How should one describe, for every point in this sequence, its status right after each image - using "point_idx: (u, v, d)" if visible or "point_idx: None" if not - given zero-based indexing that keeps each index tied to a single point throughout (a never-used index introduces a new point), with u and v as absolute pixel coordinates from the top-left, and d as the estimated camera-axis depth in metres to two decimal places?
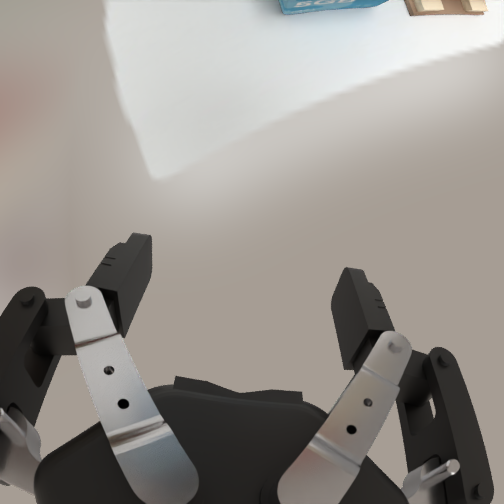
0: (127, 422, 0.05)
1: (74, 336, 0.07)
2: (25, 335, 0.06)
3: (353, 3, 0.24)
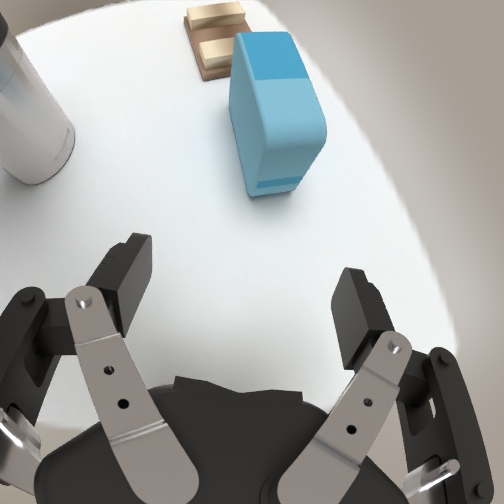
0: (127, 422, 0.05)
1: (74, 336, 0.07)
2: (25, 335, 0.06)
3: None
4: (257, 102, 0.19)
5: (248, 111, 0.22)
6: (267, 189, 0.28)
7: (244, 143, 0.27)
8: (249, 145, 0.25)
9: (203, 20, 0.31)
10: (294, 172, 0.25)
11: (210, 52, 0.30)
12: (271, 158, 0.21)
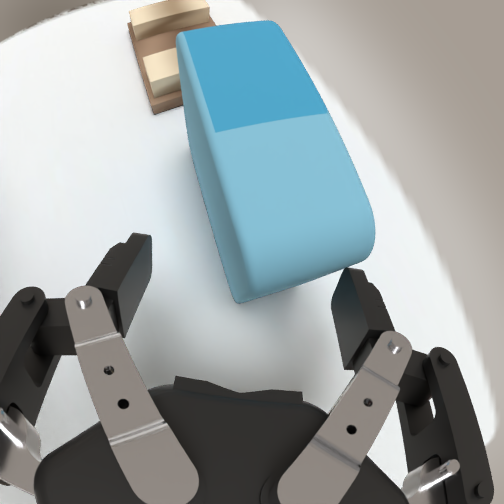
0: (127, 422, 0.05)
1: (74, 336, 0.07)
2: (25, 335, 0.06)
3: None
4: (223, 191, 0.09)
5: (212, 188, 0.12)
6: (261, 296, 0.18)
7: (216, 227, 0.17)
8: (223, 243, 0.15)
9: (150, 24, 0.21)
10: (304, 282, 0.15)
11: (158, 70, 0.20)
12: None
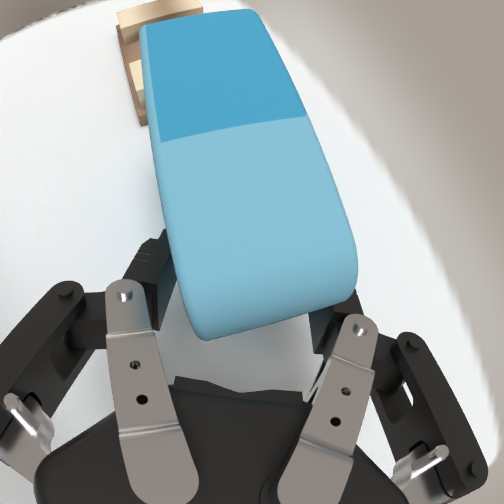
0: (127, 422, 0.05)
1: (108, 326, 0.07)
2: (56, 329, 0.07)
3: None
4: (164, 217, 0.07)
5: None
6: None
7: None
8: None
9: (139, 26, 0.19)
10: None
11: None
12: None
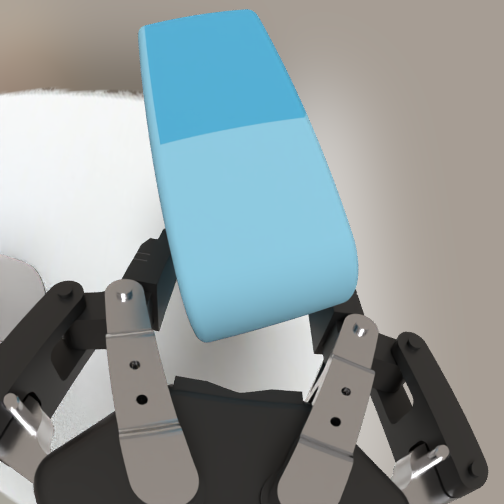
0: (127, 422, 0.05)
1: (108, 326, 0.07)
2: (56, 329, 0.07)
3: None
4: (164, 218, 0.07)
5: None
6: None
7: None
8: None
9: None
10: None
11: None
12: None
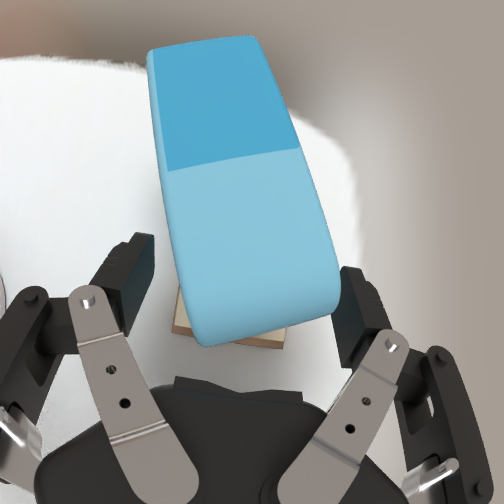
0: (127, 422, 0.05)
1: (77, 335, 0.07)
2: (28, 334, 0.06)
3: None
4: (170, 239, 0.08)
5: None
6: None
7: None
8: None
9: None
10: None
11: None
12: None
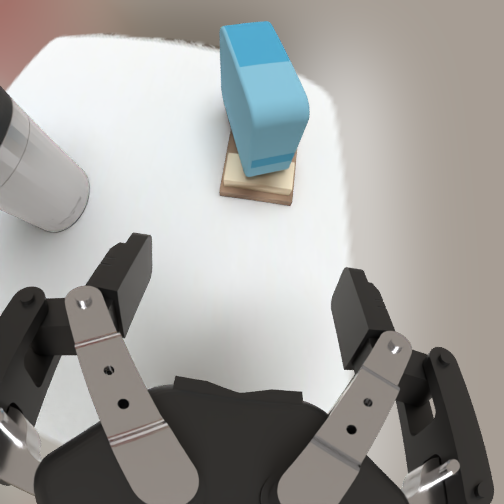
0: (127, 422, 0.05)
1: (74, 336, 0.07)
2: (25, 335, 0.06)
3: None
4: (242, 87, 0.21)
5: (237, 96, 0.24)
6: (262, 168, 0.29)
7: (237, 127, 0.28)
8: (241, 128, 0.26)
9: None
10: (284, 150, 0.26)
11: (233, 171, 0.32)
12: (260, 136, 0.23)
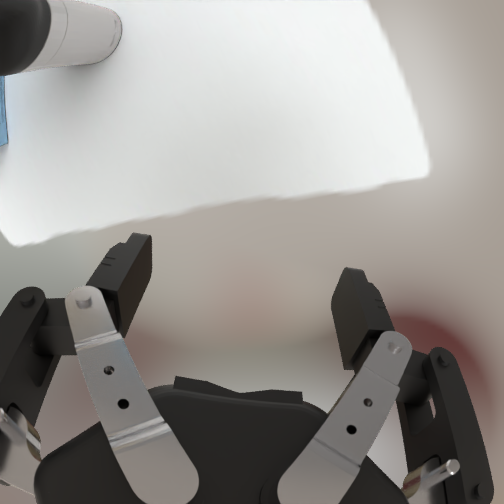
0: (127, 422, 0.05)
1: (74, 336, 0.07)
2: (25, 335, 0.06)
3: None
4: None
5: None
6: None
7: None
8: None
9: None
10: None
11: None
12: None
